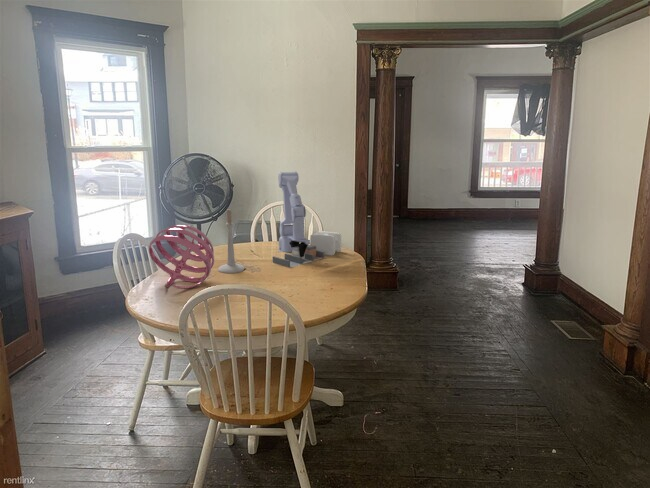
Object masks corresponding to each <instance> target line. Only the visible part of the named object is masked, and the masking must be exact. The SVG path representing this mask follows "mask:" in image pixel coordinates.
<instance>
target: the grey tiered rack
mask: <svg viewBox="0 0 650 488" xmlns="http://www.w3.org/2000/svg"><path fill="white" fill-rule="evenodd" d="M324 259H325V255H324V252H322V251H318V250H316V257H314V258H313V255H312V254H308V253H305V258H304V259H302V258H301V257H297V256H294V255H292V254H289V253H284V258H282V257H278V256H274V255H273V256H272V263H273V264H276V265H280V266H283V267H286V268H294V267H296V266H297V267H298V266H301V265H304V264H308V263H312V262H317V261H320V260H324Z"/></svg>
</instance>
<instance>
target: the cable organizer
mask: <svg viewBox="0 0 650 488" xmlns="http://www.w3.org/2000/svg"><path fill="white" fill-rule="evenodd" d="M309 240H310V244H309V245H315V246H316V250H318V251H322V252H324V256H334V255H335V253H341V251H342V234H341V233H339V232H336V231H335V232H334V231H327V230H326V231H324V230H319V231H316V233H312V234H311V235H310V239H309Z"/></svg>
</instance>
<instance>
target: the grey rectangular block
mask: <svg viewBox="0 0 650 488" xmlns="http://www.w3.org/2000/svg"><path fill="white" fill-rule="evenodd" d="M291 255H294V256H297V257H300V251H299V247H298V246H296V247H292V252H291ZM301 258H302V259H304V258H305V254H304V257H301Z"/></svg>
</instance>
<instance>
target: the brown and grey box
mask: <svg viewBox="0 0 650 488" xmlns="http://www.w3.org/2000/svg"><path fill="white" fill-rule="evenodd" d="M305 253H308V254H312V255H313V258H314V257H316V246H315V245H310V244H308V246H307V248H306V250H305Z"/></svg>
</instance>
